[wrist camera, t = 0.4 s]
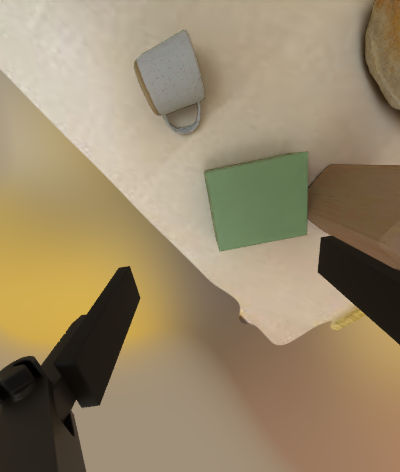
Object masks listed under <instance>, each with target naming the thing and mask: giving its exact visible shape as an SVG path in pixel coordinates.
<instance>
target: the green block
mask: <svg viewBox="0 0 400 472" xmlns="http://www.w3.org/2000/svg"><path fill="white" fill-rule="evenodd" d="M204 175H205V180H206V186H207V192H208V197H209V203H210V208H211V214H212V220H213V225H214V231H215V237H216V241H217V244H218V248H219V251H225V250H230V249H235V248H240V247H246V246H251V245H256V244H261V243H267V242H272V241H277V240H282V239H288V238H293V237H298V236H303V235H307V200H308V152H298V153H288V154H284V155H279V156H274V157H269V158H264V159H259V160H255V161H250V162H245V163H240V164H235V165H231V166H226V167H221V168H216V169H211V170H206V171H204Z"/></svg>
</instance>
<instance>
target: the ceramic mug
mask: <svg viewBox="0 0 400 472" xmlns="http://www.w3.org/2000/svg"><path fill="white" fill-rule="evenodd" d="M134 69H135V73H136V76H137V78H138V81H139V84H140V86H141V88H142V91H143V93H144V95H145V97H146V99H147V101H148V103H149V105H150V107H151V109H152V110H153V112H154V113H155V114H157V115H159V116H160V115H162V116H164V119H165V121H166V123H167V125H168V126H169V127H170V129H171V130H173V131H174V132H176V133H179V134H187V133H190V132H192V131H193V130H195V129H196V127H197V126H198V124H199V121H200V116H201V107H200V101H202V100H204V99H205V91H204V86H203V82H202V77H201V73H200V69H199V65H198V62H197V58H196V55H195V52H194V49H193V46H192V43H191V40H190V37H189V34H188V33H187V31H186V30H182V31H181V32H179V33H177V34H176V35H174V36H172V37H170V38H169V39H167V40H165V41H164V42H162V43H160V44H158V45H157V46H155V47H153V48H152V49H150V50H148V51H146V52H144V53H143V54H142V55H140V56H139V57H138V58H137V59H136V61H135V63H134ZM194 103H197V110H198V113H197V119H196V121H195V123H194V124H193V125H191V126H187V127H183V128H182V127H180V128H179V129H177V128H175V127H174V126H172V125H171V123H170V122H169V120H168V118H167V116H166V114H169V113H172V112H174V111H176V110H178V109H181V108H184V107H187V106H189V105H192V104H194Z"/></svg>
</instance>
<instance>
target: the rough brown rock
mask: <svg viewBox="0 0 400 472" xmlns="http://www.w3.org/2000/svg"><path fill="white" fill-rule="evenodd" d="M365 40H366V44H365V59H366V63H367V65H368V66H369V71H370V73H371V75H372V76H373V78H374V79H375V81H376V82H377V83H378V85H379V87H380V90H381V92H382V93H383V95H384V97H385V98H386V99H387V101H388V103H389V105H390V106H391V107H393V108H395V109H397V110H400V0H375V2H374V5H373V9H372V14H371V18H370V21H369V24H368V27H367V31H366V36H365Z"/></svg>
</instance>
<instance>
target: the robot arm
mask: <svg viewBox="0 0 400 472" xmlns="http://www.w3.org/2000/svg"><path fill="white" fill-rule="evenodd" d="M318 273H319V274H320V275H322V276H323V277H324V278H325V279H326V280H327V281H328V282H329V283H331V284H332V285H333V286H334V287H335V288H336V289H337V290H338V291H340V292H341V293H342V294H343V295H344V296H345V297H346V298H348V299H349V300H350V301H351V302H352V303H353V304H354V305H355V306H357V307H358V308H359V309H360V310H361V311H362V312H363V313H364V314H366V315H367V316H368V317H369V318H370V319H371V320H372V321H374V322H375V323H376V324H377V325H378V326H379V327H380V328H381V329H382V330H384V331H385V332H386V333H387V334H388V335H389V336H390V337H392V338H393V339H394V340H395V341H396V342H397V343H398V344H399V345H400V270H398V269H394V268H392V267H390V266H388V265H387V264H385V263H383V262H381V261H379V260H377V259H375V258H373V257H372V256H370V255H368V254H366V253H364V252H362V251H360V250H358V249H357V248H355V247H353V246H351V245H349V244H347V243H345V242H343V241H342V240H340V239H338V238H336V237H334V236H327V237H321V243H320V254H319V264H318ZM139 300H140V296H139V293H138V289H137V286H136V283H135V280H134V278H133V274H132V272H131V268H130V266H128V267H121V268H118V270H117V271H116V273H115V274H114V276H113V277H112V279H111V280H110V281H109V283H108V285H107V286H106V287H105V289H104V291H103V292H102V293H101V295H100V296H99V297H98V299H97V300H96V302H95V303H94V305H93V306H92V308H91V309H90V310H89V312H88V313H87V315H81V316H80V317H79V318H78V319H77V320H76V321H74V322H73V323H72V324H71V326H70V327H69V328H68V330H67V331H66V334H64V335H63V337H62V338H61V339H60V342H58V343H57V345H56V346H55V347H54V349H53V350H52V351H51V353H50V354H49V356H48V357H47V358H46V359H45V361H44V362H43V364H42V365H41V366H40V364H39V363H38V361H37V360H36V359H35V357H33V356H27V357H23V358H20V359H18V360H16V361H14V362H12V363H11V364H9V365H8V366H6V367H5V368H4V369H2V370H1V371H0V472H86V469H85V464H84V460H83V455H82V450H81V446H80V441H79V436H78V432H77V427H76V423H75V418H74V414H73V413H72V411H71V409H72V407H73V405H74V402H75V401H76V400H77V401H78V403H79V404H80V406H81V407H82V408H83V407H91V406H98V405H100V403H101V400H102V398H103V395H104V393H105V390H106V387H107V385H108V382H109V379H110V377H111V374H112V371H113V369H114V366H115V364H116V361H117V358H118V356H119V353H120V350H121V348H122V345H123V343H124V340H125V337H126V335H127V332H128V329H129V327H130V324H131V322H132V319H133V316H134V314H135V311H136V308H137V306H138V303H139Z"/></svg>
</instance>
